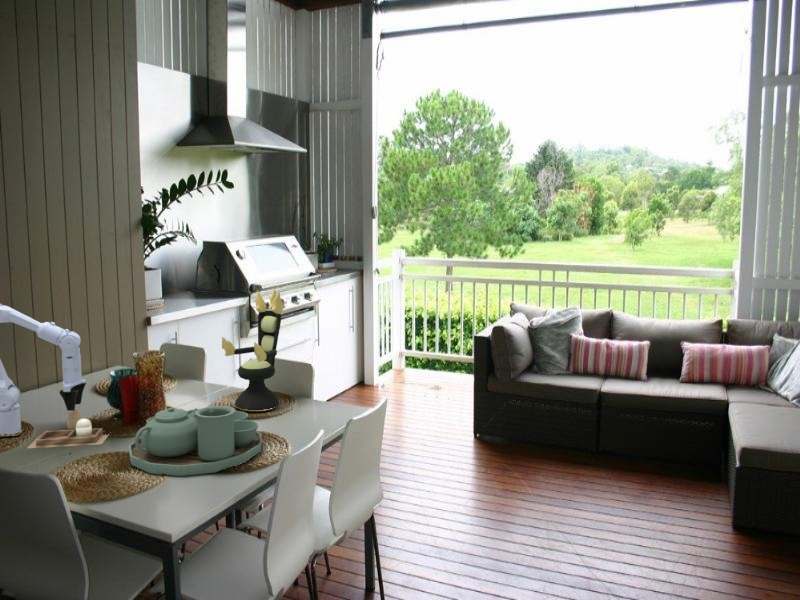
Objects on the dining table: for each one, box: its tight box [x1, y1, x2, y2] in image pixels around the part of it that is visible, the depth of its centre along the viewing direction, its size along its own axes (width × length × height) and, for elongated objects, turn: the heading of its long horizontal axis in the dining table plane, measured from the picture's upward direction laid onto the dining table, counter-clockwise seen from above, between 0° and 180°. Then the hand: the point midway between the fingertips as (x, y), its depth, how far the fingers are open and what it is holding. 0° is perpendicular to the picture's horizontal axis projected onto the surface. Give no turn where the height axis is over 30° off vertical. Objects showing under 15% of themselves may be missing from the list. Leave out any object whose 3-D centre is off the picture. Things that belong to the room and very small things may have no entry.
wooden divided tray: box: [25, 427, 110, 449], centre depth 214 cm, size 22×13×2 cm, turn 101°
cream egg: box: [75, 418, 93, 437], centre depth 215 cm, size 5×5×7 cm
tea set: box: [127, 405, 263, 477], centre depth 205 cm, size 40×40×16 cm
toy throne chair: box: [221, 288, 284, 410], centre depth 254 cm, size 19×22×45 cm
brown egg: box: [66, 409, 83, 430], centre depth 226 cm, size 5×5×7 cm
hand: (74, 407), depth 226 cm, fingers open, 7 cm apart
